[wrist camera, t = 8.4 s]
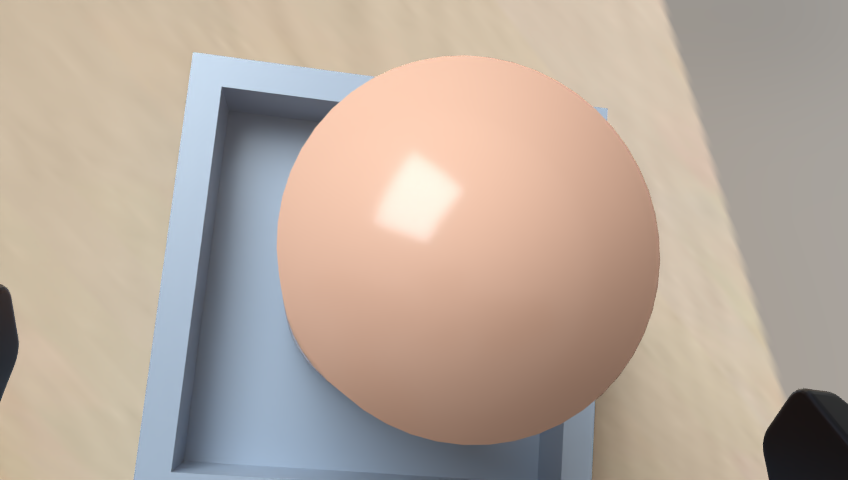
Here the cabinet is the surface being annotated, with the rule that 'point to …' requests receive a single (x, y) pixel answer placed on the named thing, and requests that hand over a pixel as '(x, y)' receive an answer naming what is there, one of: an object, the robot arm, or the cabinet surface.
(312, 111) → the tray
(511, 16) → the cabinet surface
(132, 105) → the cabinet surface
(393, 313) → the peach rounded peg
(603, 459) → the cabinet surface
